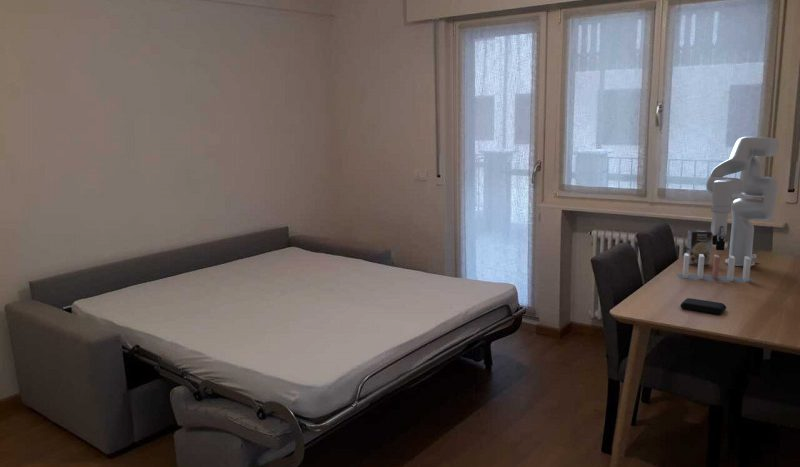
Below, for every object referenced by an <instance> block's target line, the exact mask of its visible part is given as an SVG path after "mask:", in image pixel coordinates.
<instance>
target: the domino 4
mask: <svg viewBox="0 0 800 467" xmlns="http://www.w3.org/2000/svg"><path fill="white" fill-rule="evenodd" d="M750 265H751V259H750V258H749V257H748V256H744V266H742V267H743V268H742V277H741V278H742V279H743V280H744V281H745V282H749V278H750V273H751V266H750Z"/></svg>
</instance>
